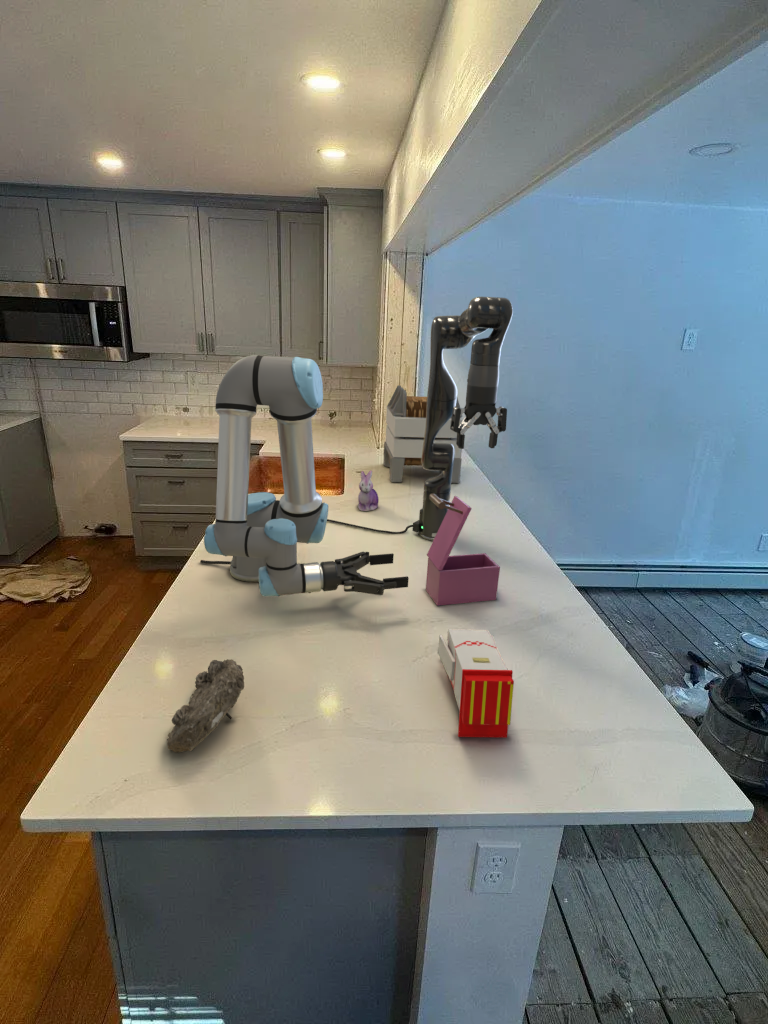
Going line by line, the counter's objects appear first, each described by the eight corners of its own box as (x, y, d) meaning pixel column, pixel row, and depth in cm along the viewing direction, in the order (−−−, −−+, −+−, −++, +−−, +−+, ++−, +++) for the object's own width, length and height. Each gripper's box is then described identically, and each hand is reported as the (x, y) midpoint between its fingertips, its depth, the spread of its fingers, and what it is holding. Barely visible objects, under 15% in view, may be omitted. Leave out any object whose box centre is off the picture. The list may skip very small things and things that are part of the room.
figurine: (362, 513, 218) (363, 475, 213) (351, 505, 226) (352, 468, 221) (384, 510, 222) (385, 473, 217) (372, 502, 230) (374, 466, 225)
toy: (488, 613, 130) (523, 677, 101) (484, 667, 133) (517, 744, 104) (435, 612, 130) (455, 676, 101) (432, 666, 133) (451, 743, 103)
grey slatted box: (382, 463, 289) (386, 382, 275) (445, 464, 293) (451, 384, 279) (390, 482, 257) (394, 392, 243) (460, 483, 261) (468, 394, 247)
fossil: (192, 660, 117) (244, 628, 112) (224, 691, 120) (276, 661, 115) (142, 746, 98) (202, 712, 93) (182, 779, 101) (242, 748, 96)
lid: (457, 496, 154) (431, 486, 150) (471, 508, 145) (444, 498, 142) (429, 555, 158) (403, 547, 154) (441, 570, 149) (414, 561, 146)
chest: (481, 584, 166) (485, 553, 162) (496, 599, 157) (500, 566, 154) (425, 589, 161) (428, 557, 158) (437, 605, 152) (440, 571, 149)
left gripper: (313, 567, 157) (386, 561, 163) (329, 615, 135) (413, 605, 141) (313, 543, 155) (388, 537, 160) (329, 587, 132) (415, 579, 138)
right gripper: (461, 385, 134) (455, 452, 140) (516, 385, 138) (508, 451, 143) (450, 381, 141) (444, 445, 146) (502, 381, 145) (495, 444, 150)
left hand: (400, 569), depth 150 cm, fingers open, 13 cm apart
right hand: (476, 448), depth 145 cm, fingers open, 8 cm apart
